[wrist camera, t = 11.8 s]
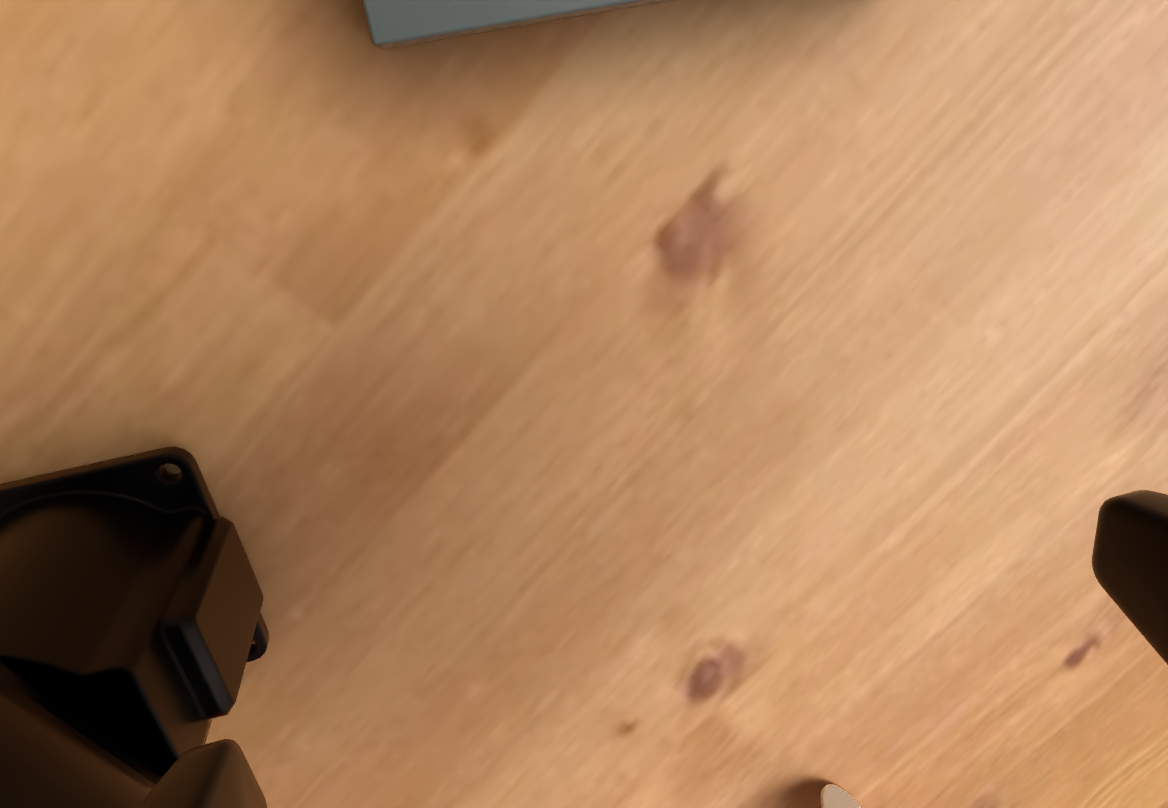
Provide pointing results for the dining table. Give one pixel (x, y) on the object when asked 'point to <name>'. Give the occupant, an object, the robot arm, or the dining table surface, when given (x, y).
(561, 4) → the shelf
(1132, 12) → the dining table surface
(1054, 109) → the dining table surface
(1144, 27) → the dining table surface
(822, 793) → the sunglasses
